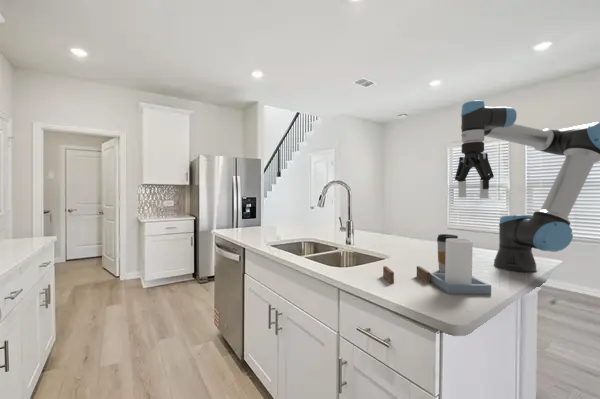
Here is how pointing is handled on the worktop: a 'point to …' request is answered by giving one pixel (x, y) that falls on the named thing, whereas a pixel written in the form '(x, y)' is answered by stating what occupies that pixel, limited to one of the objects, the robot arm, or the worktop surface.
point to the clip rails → (421, 274)
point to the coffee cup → (442, 249)
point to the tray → (460, 286)
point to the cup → (458, 261)
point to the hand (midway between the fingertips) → (472, 198)
